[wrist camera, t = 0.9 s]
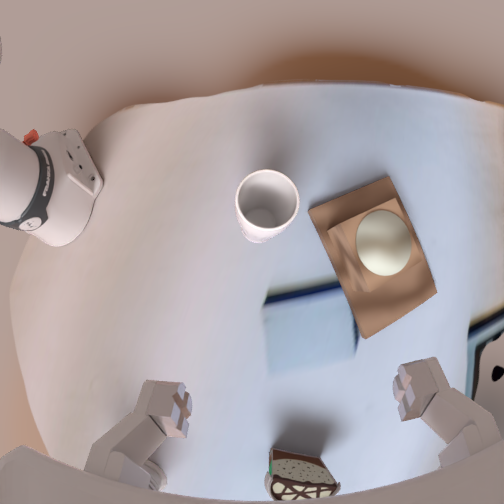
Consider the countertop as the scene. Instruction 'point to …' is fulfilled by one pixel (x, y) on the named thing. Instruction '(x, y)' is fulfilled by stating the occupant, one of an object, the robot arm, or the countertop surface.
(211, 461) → the countertop surface
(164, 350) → the countertop surface
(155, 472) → the french press
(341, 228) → the walnut display stand
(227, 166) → the countertop surface
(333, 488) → the food container
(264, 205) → the drinking glass
